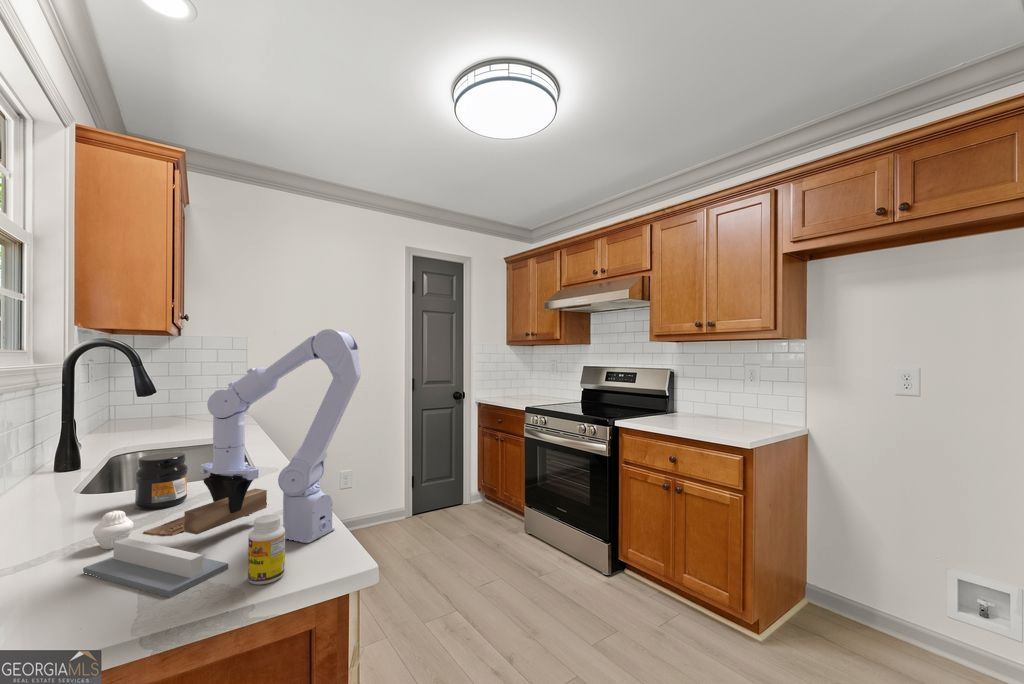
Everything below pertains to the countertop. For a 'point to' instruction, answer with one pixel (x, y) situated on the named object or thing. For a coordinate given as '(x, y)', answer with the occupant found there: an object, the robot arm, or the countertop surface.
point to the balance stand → (155, 567)
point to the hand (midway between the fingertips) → (228, 510)
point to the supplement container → (161, 480)
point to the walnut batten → (222, 512)
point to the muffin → (112, 529)
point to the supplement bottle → (266, 550)
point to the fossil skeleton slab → (167, 528)
